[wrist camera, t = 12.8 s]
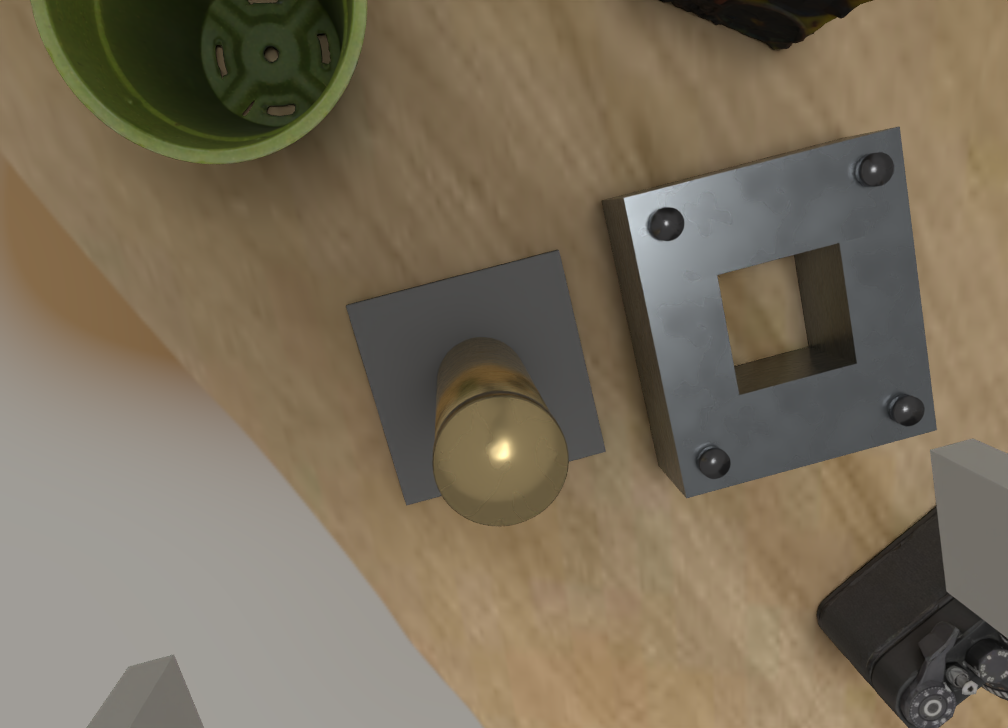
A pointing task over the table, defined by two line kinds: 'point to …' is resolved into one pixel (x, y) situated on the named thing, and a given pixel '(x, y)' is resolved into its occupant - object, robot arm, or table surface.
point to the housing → (825, 299)
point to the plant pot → (204, 69)
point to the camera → (914, 631)
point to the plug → (494, 437)
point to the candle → (771, 16)
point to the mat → (461, 316)
